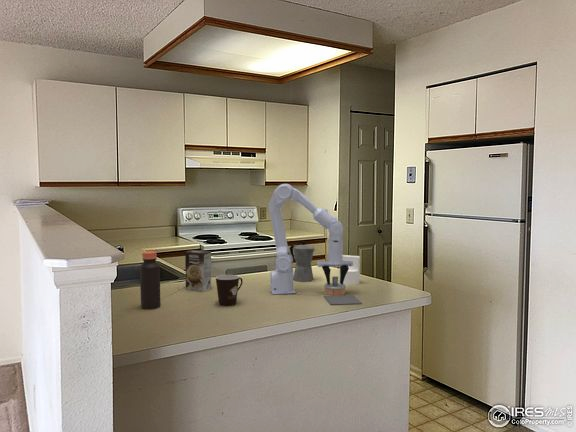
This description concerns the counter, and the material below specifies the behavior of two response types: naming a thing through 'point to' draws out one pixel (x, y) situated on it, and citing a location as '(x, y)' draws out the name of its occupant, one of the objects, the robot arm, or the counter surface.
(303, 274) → the coffeepot
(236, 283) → the coffee mug
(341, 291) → the bowl
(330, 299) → the mat
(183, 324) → the counter surface
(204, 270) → the coffee box
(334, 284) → the lid
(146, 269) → the bottle
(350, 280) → the cylinder with rectangular tab
